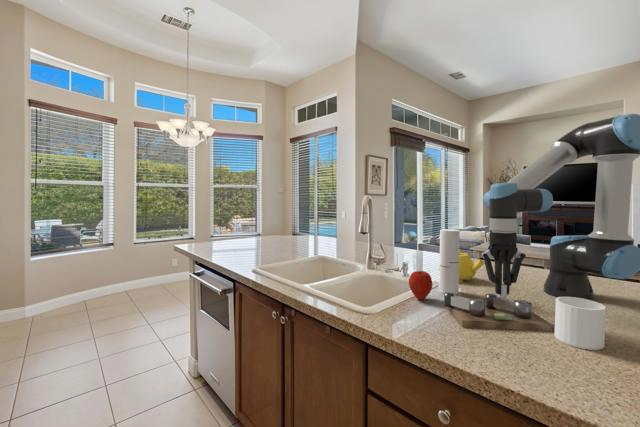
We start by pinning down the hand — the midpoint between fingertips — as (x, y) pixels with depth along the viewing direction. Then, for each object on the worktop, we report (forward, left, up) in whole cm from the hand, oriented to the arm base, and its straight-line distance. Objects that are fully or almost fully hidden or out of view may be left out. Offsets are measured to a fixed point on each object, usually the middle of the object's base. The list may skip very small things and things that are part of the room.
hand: (502, 303), depth 99 cm
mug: (-12, +16, -4) cm, 21 cm away
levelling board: (+4, +5, -3) cm, 7 cm away
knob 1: (+13, +4, -1) cm, 14 cm away
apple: (+23, -12, -4) cm, 26 cm away
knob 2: (0, +4, -1) cm, 4 cm away
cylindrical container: (+10, -22, -4) cm, 25 cm away
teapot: (-1, -41, -4) cm, 42 cm away
